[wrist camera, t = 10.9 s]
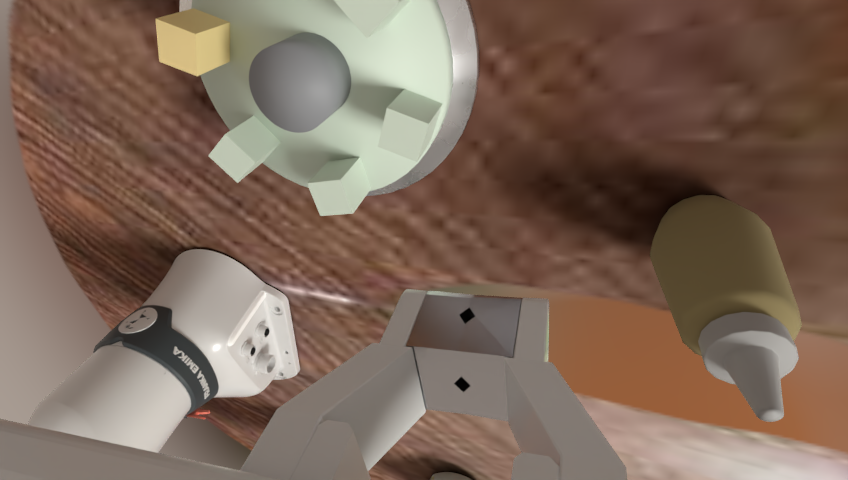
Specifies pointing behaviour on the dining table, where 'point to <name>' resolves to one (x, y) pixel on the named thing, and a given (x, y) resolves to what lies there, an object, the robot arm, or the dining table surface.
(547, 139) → the dining table surface
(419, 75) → the green toy gear
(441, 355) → the robot arm
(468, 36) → the mount plate
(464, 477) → the air freshener
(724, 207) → the squeeze bottle
